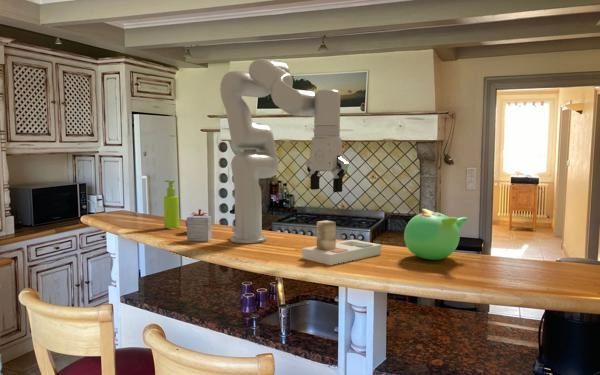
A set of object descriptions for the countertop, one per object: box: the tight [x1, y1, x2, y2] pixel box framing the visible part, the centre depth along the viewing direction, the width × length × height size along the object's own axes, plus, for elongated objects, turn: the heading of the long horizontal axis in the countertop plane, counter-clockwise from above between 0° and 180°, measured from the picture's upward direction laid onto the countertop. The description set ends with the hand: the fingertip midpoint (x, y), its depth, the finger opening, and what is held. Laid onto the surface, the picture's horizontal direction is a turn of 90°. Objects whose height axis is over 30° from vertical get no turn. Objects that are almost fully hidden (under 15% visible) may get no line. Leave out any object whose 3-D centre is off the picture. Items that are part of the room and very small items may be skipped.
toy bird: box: [403, 208, 468, 261], centre depth 142 cm, size 18×17×15 cm
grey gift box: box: [186, 215, 213, 242], centre depth 172 cm, size 8×4×9 cm, turn 84°
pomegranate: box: [184, 208, 212, 228], centre depth 188 cm, size 10×10×9 cm
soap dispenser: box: [163, 179, 180, 229], centre depth 199 cm, size 6×7×20 cm
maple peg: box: [316, 219, 337, 251], centre depth 143 cm, size 4×4×11 cm
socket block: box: [301, 239, 382, 266], centre depth 146 cm, size 12×22×3 cm, turn 131°
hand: (325, 190), depth 142 cm, fingers open, 9 cm apart
